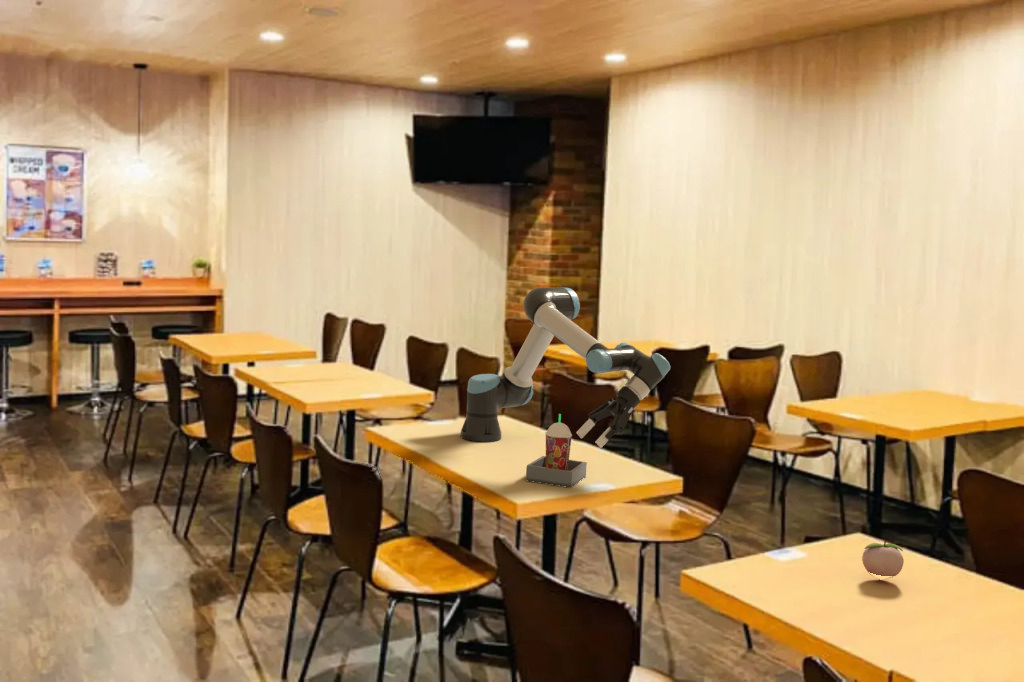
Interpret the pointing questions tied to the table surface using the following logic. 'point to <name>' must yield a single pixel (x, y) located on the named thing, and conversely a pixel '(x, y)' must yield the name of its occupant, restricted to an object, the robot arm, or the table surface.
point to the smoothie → (558, 446)
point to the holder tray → (556, 473)
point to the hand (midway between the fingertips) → (588, 440)
